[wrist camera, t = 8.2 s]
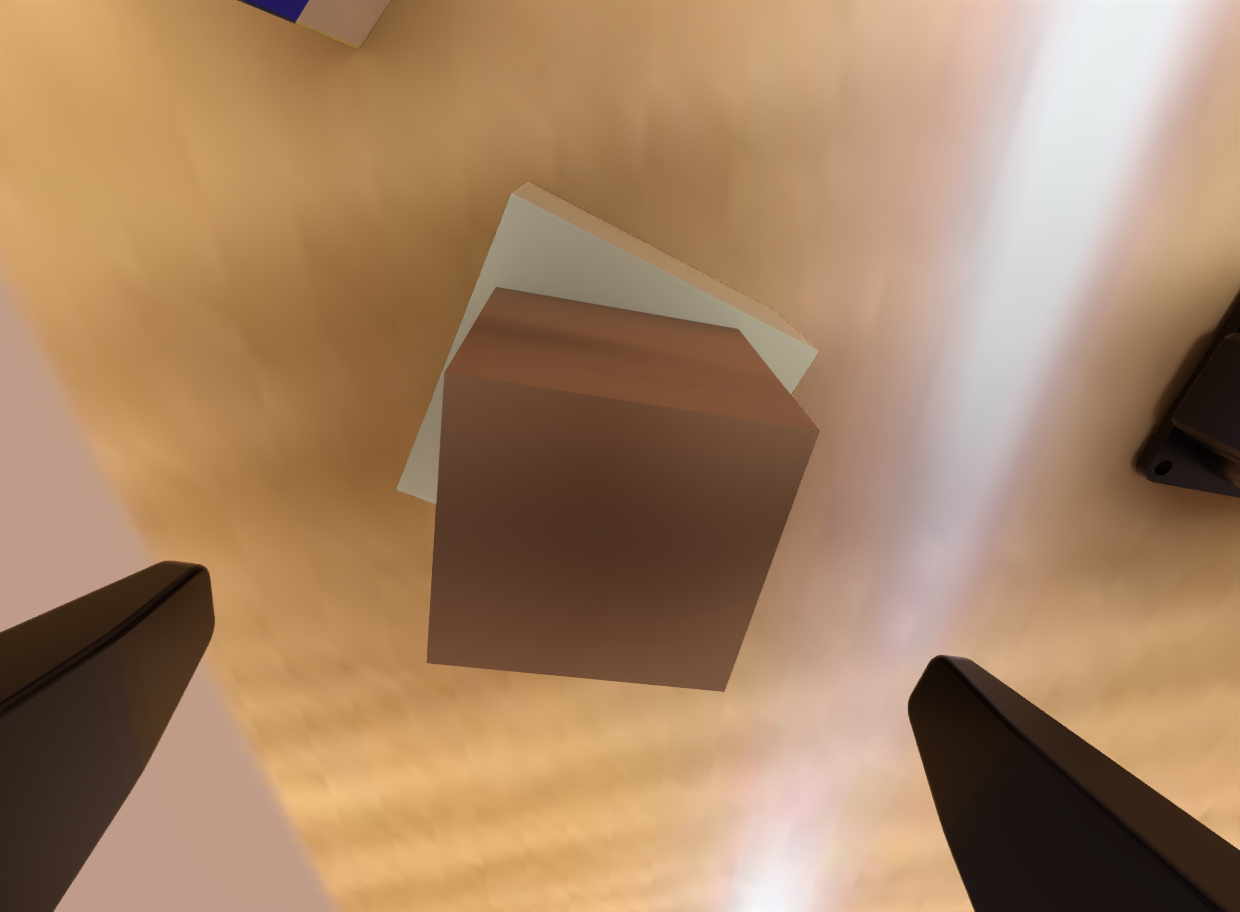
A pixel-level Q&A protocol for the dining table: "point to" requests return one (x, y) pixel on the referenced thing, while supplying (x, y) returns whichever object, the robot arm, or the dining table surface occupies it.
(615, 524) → the walnut cube
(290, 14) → the puzzle toy
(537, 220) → the base block
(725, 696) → the dining table surface
